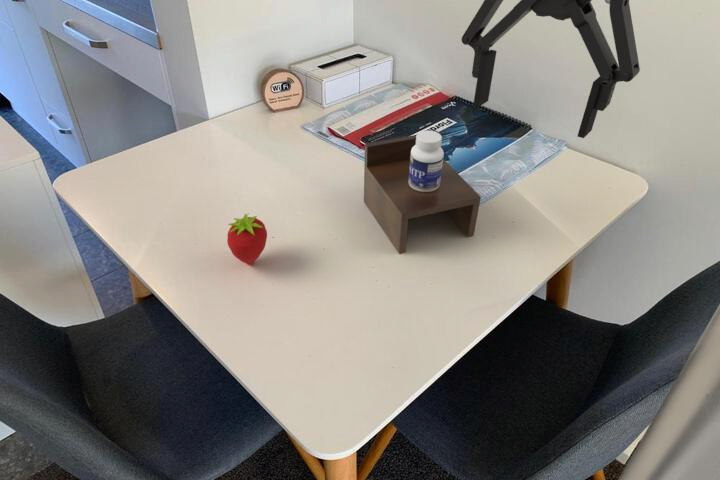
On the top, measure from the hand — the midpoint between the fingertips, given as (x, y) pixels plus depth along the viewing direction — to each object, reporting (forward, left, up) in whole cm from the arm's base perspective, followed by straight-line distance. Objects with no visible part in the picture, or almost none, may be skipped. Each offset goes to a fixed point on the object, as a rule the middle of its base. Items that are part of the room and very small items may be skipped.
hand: (529, 117), depth 65 cm
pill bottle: (+16, +5, -19) cm, 25 cm away
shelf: (+18, +5, -27) cm, 32 cm away
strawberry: (+16, +35, -27) cm, 47 cm away
